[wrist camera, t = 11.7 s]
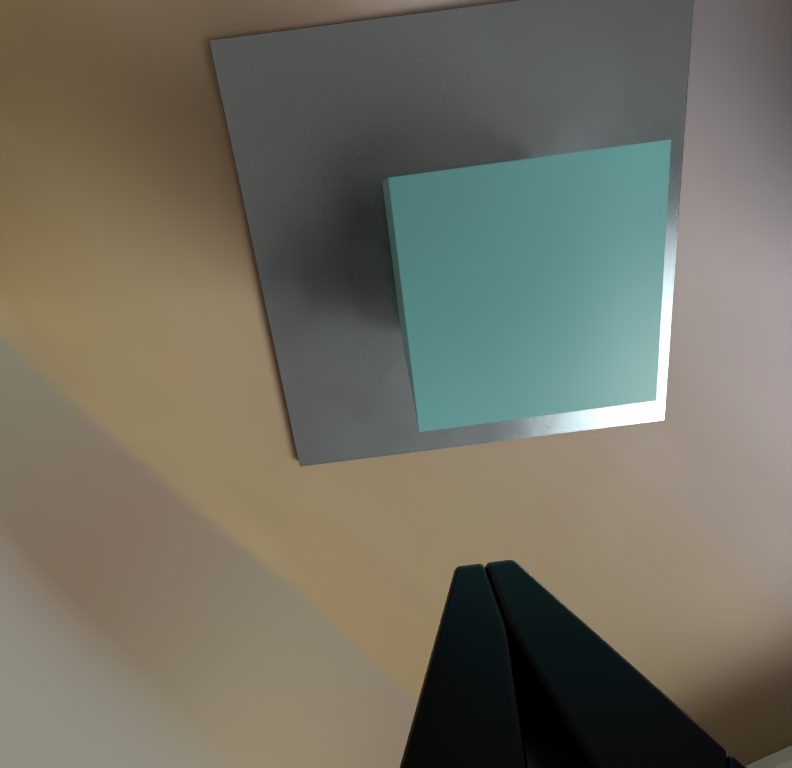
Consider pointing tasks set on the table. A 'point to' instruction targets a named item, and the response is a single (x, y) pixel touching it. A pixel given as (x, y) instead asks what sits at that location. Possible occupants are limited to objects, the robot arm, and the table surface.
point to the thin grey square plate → (420, 153)
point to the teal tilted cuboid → (531, 283)
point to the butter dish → (775, 760)
